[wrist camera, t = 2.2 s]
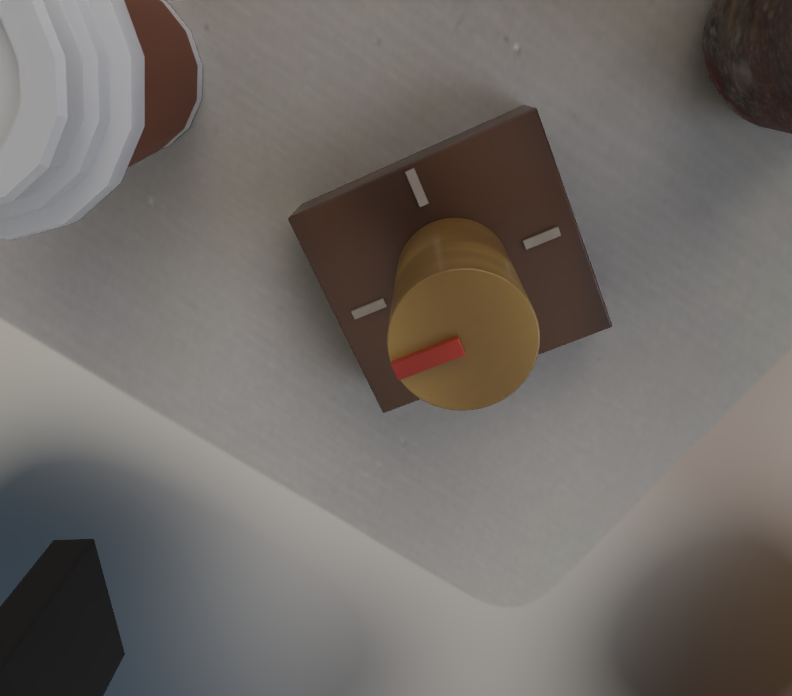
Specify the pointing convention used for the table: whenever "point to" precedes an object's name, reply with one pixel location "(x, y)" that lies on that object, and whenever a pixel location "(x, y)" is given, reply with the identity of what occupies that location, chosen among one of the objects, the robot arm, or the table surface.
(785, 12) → the weathered brown cylinder
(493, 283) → the dimmer knob
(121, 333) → the table surface
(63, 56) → the coffee cup
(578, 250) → the panel
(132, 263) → the table surface
